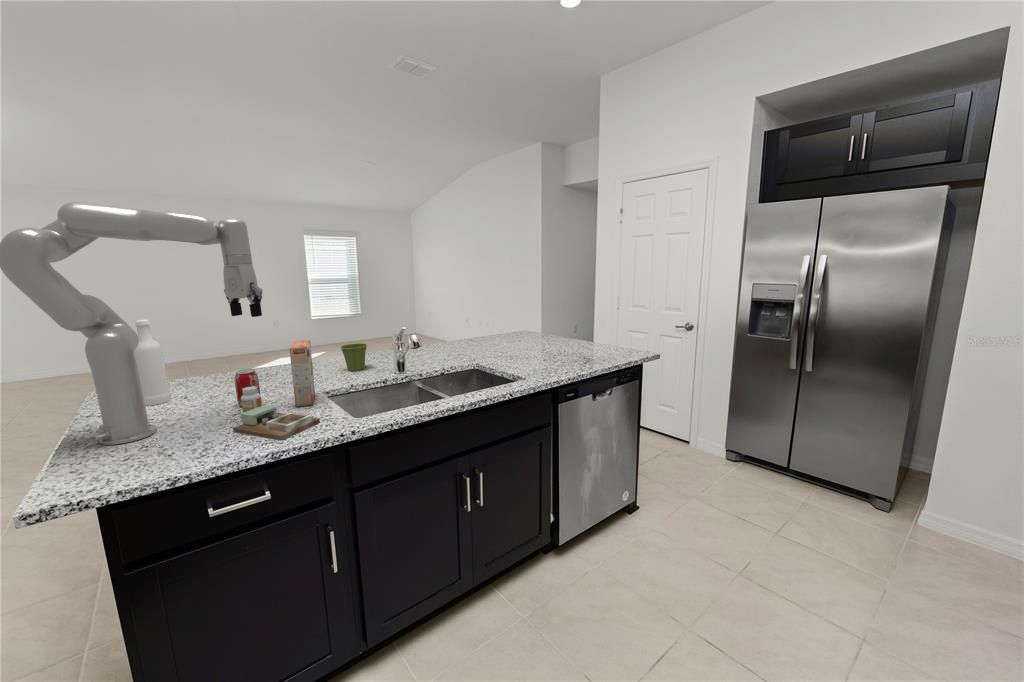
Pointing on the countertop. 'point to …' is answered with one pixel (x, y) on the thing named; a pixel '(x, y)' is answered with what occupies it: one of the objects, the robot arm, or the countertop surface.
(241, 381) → the soda can
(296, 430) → the board
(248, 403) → the supplement bottle
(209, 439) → the countertop surface
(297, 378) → the cracker box
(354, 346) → the plant pot
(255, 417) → the block
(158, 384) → the bottle
